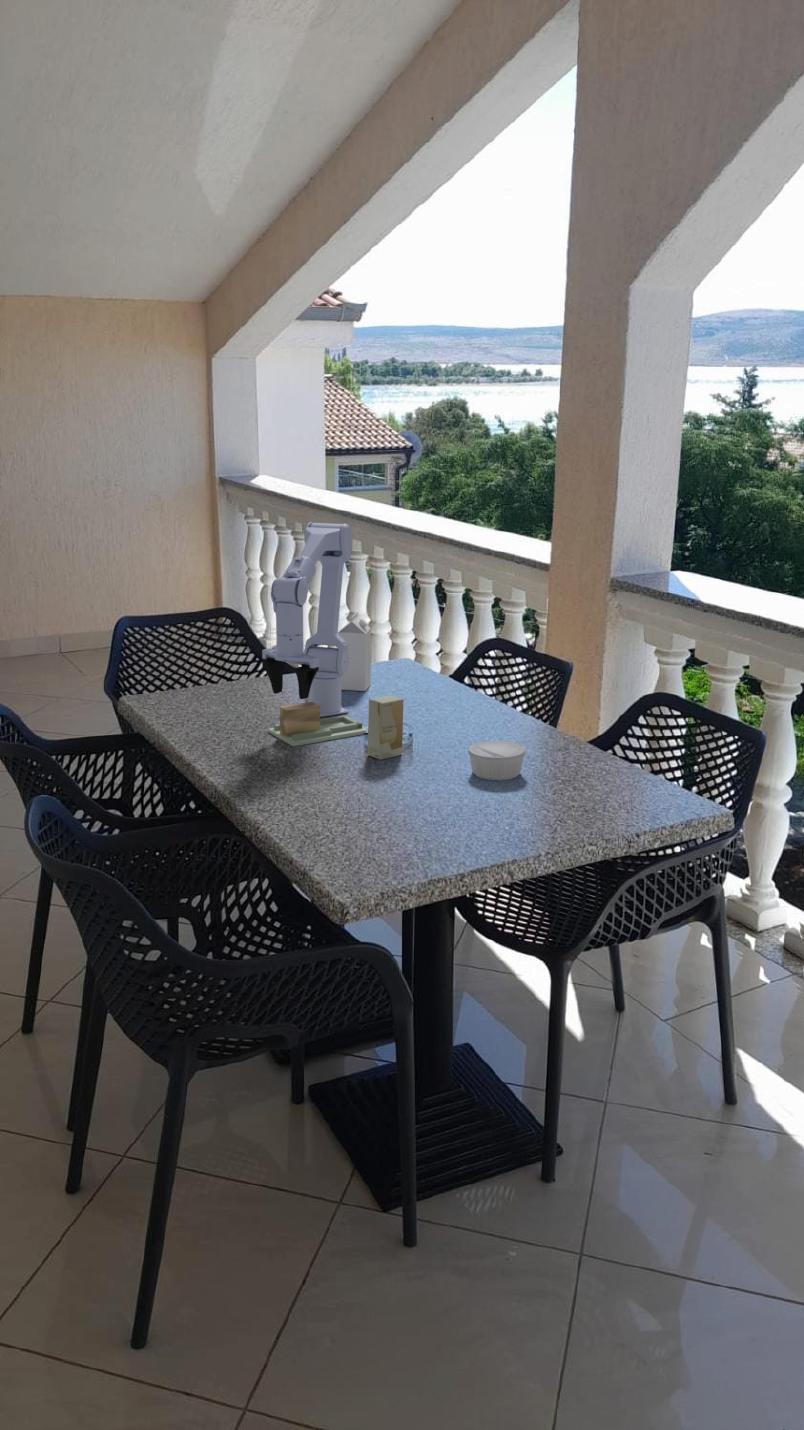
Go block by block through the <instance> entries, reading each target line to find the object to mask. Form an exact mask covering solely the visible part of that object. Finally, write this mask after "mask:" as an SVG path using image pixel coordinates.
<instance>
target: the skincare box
mask: <svg viewBox="0 0 804 1430" xmlns="http://www.w3.org/2000/svg"><path fill="white" fill-rule="evenodd" d="M367 724H368V725H367V729H368V734H367V755H368V756H370V757H373V758H375V759H377V760H381V761H382V760H385V759H390V758H394V757H397V756H402V755H403V735H404V732H403V731H404V729H403V728H404V698H401V697H398V696H394V695H391V694H390V695H385V696H379V697H375V698H369V699H368V723H367Z"/></svg>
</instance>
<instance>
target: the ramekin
mask: <svg viewBox="0 0 804 1430" xmlns="http://www.w3.org/2000/svg"><path fill="white" fill-rule="evenodd" d="M468 755H469V759H470V766H471V770H472V772H473V774H474V776H476V777H478V778H479V777H480V779H482V780H488V781H493V782H494V781H495V780H497V782H502V781H503V782H504V781H509V780H512V779H513V780H514V779H515V778H517V777H518V776H519V775H520V774H521V771H522V769H523V768H522V766H523V763H524V757H525V755H526V748H525V747H524V746H522V745H520V744H518V743H515V742H511V741H507V740H486V741H480V742H475V743H473V744H471V745H470V746H469V747H468Z"/></svg>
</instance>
